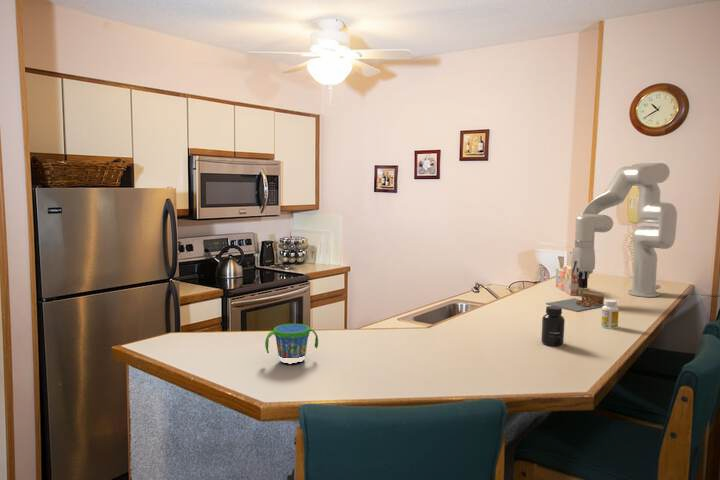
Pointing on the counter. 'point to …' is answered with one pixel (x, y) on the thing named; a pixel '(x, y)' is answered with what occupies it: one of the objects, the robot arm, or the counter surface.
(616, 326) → the supplement bottle
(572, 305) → the mat
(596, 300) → the gingerbread man figurine
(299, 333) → the snack cup
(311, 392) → the counter surface
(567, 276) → the stack of blocks
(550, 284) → the counter surface
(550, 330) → the supplement bottle
